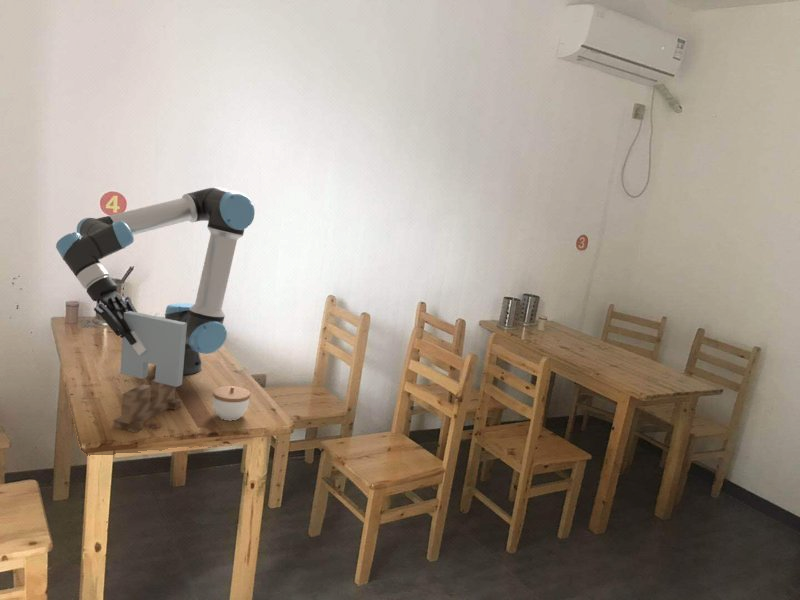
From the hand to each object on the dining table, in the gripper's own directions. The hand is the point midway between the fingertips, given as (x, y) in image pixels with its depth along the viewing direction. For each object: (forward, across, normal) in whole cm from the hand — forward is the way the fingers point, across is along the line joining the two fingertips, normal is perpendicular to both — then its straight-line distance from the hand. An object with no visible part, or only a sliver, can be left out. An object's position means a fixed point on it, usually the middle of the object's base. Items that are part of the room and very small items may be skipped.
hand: (146, 351), depth 183 cm
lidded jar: (+29, -12, +1) cm, 31 cm away
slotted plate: (+7, 0, -4) cm, 8 cm away
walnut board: (+15, 0, -12) cm, 19 cm away
